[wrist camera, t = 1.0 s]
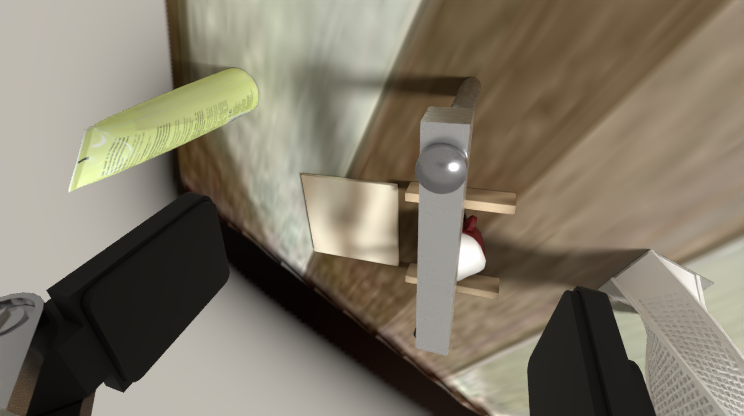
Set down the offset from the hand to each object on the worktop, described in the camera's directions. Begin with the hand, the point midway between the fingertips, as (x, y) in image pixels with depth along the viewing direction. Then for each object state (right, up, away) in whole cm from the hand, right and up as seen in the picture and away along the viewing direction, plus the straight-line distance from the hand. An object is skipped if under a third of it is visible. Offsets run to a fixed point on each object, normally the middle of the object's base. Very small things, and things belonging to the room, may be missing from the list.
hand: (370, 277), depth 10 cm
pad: (-2, 0, +37) cm, 37 cm away
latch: (+9, +7, +28) cm, 30 cm away
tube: (-15, +15, +31) cm, 38 cm away
